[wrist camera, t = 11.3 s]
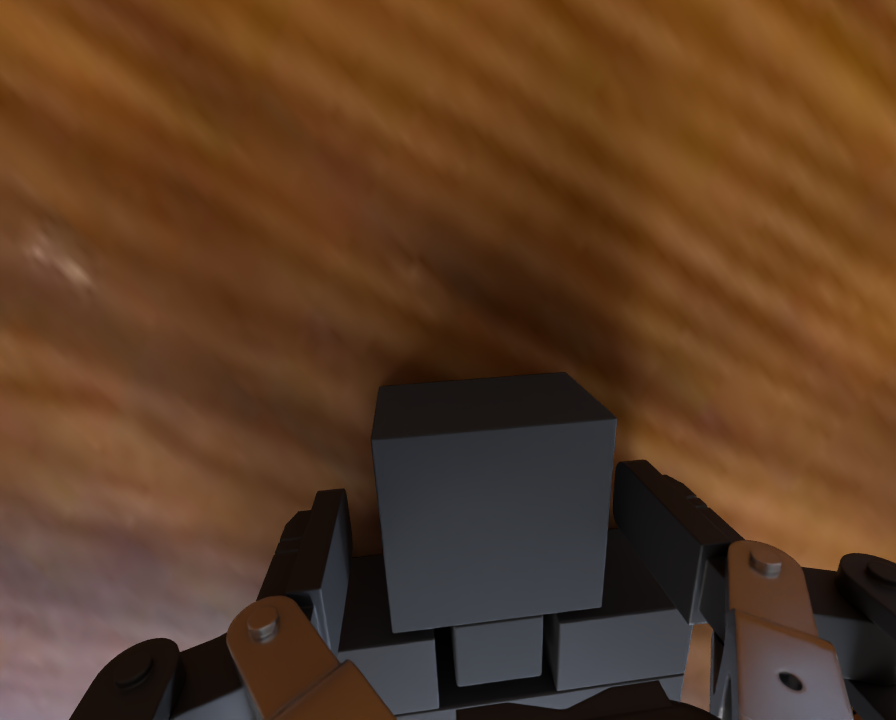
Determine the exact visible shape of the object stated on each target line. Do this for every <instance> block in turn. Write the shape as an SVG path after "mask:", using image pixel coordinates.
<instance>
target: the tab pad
mask: <svg viewBox="0 0 896 720" xmlns="http://www.w3.org/2000/svg"><path fill="white" fill-rule="evenodd" d="M616 424H617V418H616V416H614V415H613V414H612V413H611V412H610V411H609V410H608V409H607V408H605V407H604V406H603V405H602V404H601V403H600V402H599V401H597V400H596V399H595V398H594V397H593V396H592V395H591V394H590V393H588V392H587V391H586V390H585V389H584V388H583V387H582V386H581V385H579V384H578V383H577V382H576V381H575V380H574V379H573V378H572V377H570V376H569V375H568V374H567V373H566V372H560V373H547V374H534V375H521V376H508V377H495V378H482V379H469V380H456V381H443V382H431V383H418V384H405V385H392V386H380V387H379V389H378V396H377V403H376V409H375V416H374V422H373V429H372V435H371V447H372V456H373V465H374V474H375V483H376V492H377V501H378V510H379V519H380V528H381V537H382V546H383V555H384V564H385V573H386V582H387V591H388V600H389V609H390V618H391V627H392V632H393V633H399V632H407V631H415V630H423V629H431V628H439V627H447V626H450V634H451V643H452V651H453V660H454V669H455V677H456V684H457V686H459V687H460V686H468V685H475V684H482V683H489V682H497V681H504V680H511V679H519V678H526V677H533V676H540V675H541V673H542V641H543V614H551V613H559V612H567V611H575V610H583V609H591V608H599V607H601V605H602V593H603V581H604V569H605V557H606V545H607V533H608V521H609V509H610V497H611V485H612V473H613V461H614V449H615V437H616Z"/></svg>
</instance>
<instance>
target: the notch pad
mask: <svg viewBox="0 0 896 720" xmlns="http://www.w3.org/2000/svg"><path fill="white" fill-rule="evenodd" d="M692 628H693V625H688V624H687V622H686V621H685V619H684V618H683V617H682V615H681V614H680V612H679V611H678V610H677V608H676V607H675V606H674V604H673V603H672V601H671V600H670V599H669V597H668V596H667V595H666V593H665V592H664V590H663V589H662V588H661V586H660V585H659V583H658V582H657V581H656V579H655V578H654V577H653V575H652V574H651V572H650V571H649V570H648V568H647V567H646V565H645V564H644V563H643V561H642V560H641V559H640V557H639V556H638V554H637V553H636V552H635V550H634V549H633V547H632V546H631V545H630V543H629V542H628V541H627V539H626V538H625V536H624V535H623V534H622V532H621V531H620V530H619V529H611V530H608V533H607V545H606V557H605V569H604V581H603V593H602V605H601V607H599V608H591V609H583V610H575V611H567V612H559V613H551V614H543V641H542V673H541V675H540V676H533V677H526V678H519V679H511V680H504V681H497V682H489V683H482V684H475V685H468V686H460V687H459V686H457V684H456V677H455V669H454V660H453V651H452V643H451V634H450V626H447V627H439V628H431V629H423V630H415V631H407V632H399V633H393V632H392V627H391V618H390V609H389V600H388V591H387V582H386V573H385V564H384V555H376V556H367V557H358V558H352V561H351V567H350V574H349V580H348V587H347V594H346V600H345V607H344V614H343V620H342V627H341V633H340V640H339V647H338V653H337V659H338V660H339V662H341V663H342V662H344V661H345V660H346V659H349V660H351V661H352V662H353V663H354V664H355V665H356V666H357V667H358V668H359V670H360V671H361V672H362V674H363V675H364V676H365V678H366V679H367V680H368V682H369V683H370V684H371V685H372V687H373V688H374V689H375V691H376V692H377V693H378V695H379V696H380V697H381V699H382V700H383V701H384V703H385V704H386V705H387V707H388V708H389V709H390V710H391V712H392V713H393V714H394V716H395V717H396V718H397V720H456V710H458V709H465V708H471V707H478V706H485V705H492V704H499V703H506V702H509V703H516V704H523V705H531V706H538V707H546V708H553V709H567V708H569V707H571V706H573V705H575V704H577V703H579V702H581V701H583V700H585V699H587V698H589V697H591V696H593V695H595V694H597V693H600V692H602V691H604V690H606V689H608V688H610V687H615V686H622V685H629V684H636V683H642V682H649V681H656V680H659V682H660V684H661V686H662V688H663V689H664V691H665V693H666V695H667V696H668V698H669V700H675V701H679V702H680V698H681V692H682V686H683V680H684V672H685V669H686V663H687V658H688V652H689V646H690V640H691V634H692Z"/></svg>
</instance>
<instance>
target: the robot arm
mask: <svg viewBox="0 0 896 720" xmlns="http://www.w3.org/2000/svg"><path fill="white" fill-rule="evenodd" d="M613 515H614V519H615V522H616V524H617V526H618V528H619V530H620V531H621V532H622V534H623V535H624V536H625V538H626V539H627V541H628V542H629V543H630V545H631V546H632V547H633V549H634V550H635V552H636V553H637V554H638V556H639V557H640V559H641V560H642V561H643V563H644V564H645V565H646V567H647V568H648V570H649V571H650V572H651V574H652V575H653V577H654V578H655V579H656V581H657V582H658V583H659V585H660V586H661V588H662V589H663V590H664V592H665V593H666V595H667V596H668V597H669V599H670V600H671V601H672V603H673V604H674V606H675V607H676V608H677V610H678V611H679V612H680V614H681V615H682V617H683V618H684V619H685V621H686V622H687V624H688V625H695V624H702V623H709V624H710V626H711V627H712V628H713V633H712V639H711V673H710V712H707V711H705V710H703V709H700V708H698V707H695V706H692V705H689V704H686V703H682V702H679V701H675V700H669V698H668V696H667V695H666V693H665V691H664V689H663V688H662V686H661V684H660V682H659V680H656V681H649V682H642V683H636V684H629V685H622V686H615V687H610V688H608V689H606V690H604V691H602V692H600V693H597V694H595V695H593V696H591V697H589V698H587V699H585V700H583V701H581V702H579V703H577V704H575V705H573V706H571V707H569V708H567V709H553V708H546V707H538V706H531V705H523V704H516V703H509V702H506V703H499V704H492V705H485V706H478V707H471V708H465V709H458V710H456V720H854V717H853V713H852V709H851V707H852V708H853V709H854V710H855V711H856V713H857V714H858V715H859V716H860V717H861V718H862V719H863V720H896V564H895V563H893V562H891V561H888V560H886V559H883V558H880V557H876V556H873V555H868V554H861V553H852V554H847V555H844V556H843V557H842V558H841V560H840V563H839V567H838V570H837V571H829V570H822V569H814V568H806V567H801V566H800V565H799V564H798V563H797V562H796V561H795V560H794V559H793V558H792V557H791V556H789V555H788V554H786V553H785V552H783V551H781V550H779V549H777V548H775V547H773V546H771V545H768V544H765V543H762V542H757V541H751V540H745V539H744V538H743V537H741V536H740V535H739V534H738V533H737V532H736V531H735V530H734V529H733V528H732V527H730V526H729V525H728V524H727V523H726V522H725V521H724V520H723V519H722V518H721V517H719V516H718V515H717V514H716V513H715V512H714V511H713V510H712V509H711V508H708V507H707V505H706V504H705V503H704V502H703V501H702V500H701V499H700V498H697V497H696V495H695V494H694V493H693V492H692V491H691V490H690V489H689V488H687V487H686V486H685V485H684V484H683V483H681V482H679V481H677V480H675V479H673V478H671V477H669V476H668V475H662V474H661V473H659V472H658V471H657V470H656V469H655V468H654V467H653V466H652V465H651V464H650V463H649V462H648V461H646V460H633V461H623V462H619V463H618V464H617V466H616V471H615V483H614V494H613ZM352 550H353V542H352V530H351V523H350V516H349V508H348V501H347V494H346V490H345V489H344V488H343V489H333V490H323V491H318V492H317V494H316V497H315V500H314V503H313V506H312V509H311V510H308V511H298V512H297V513H296V515H295V516H294V517H293V518H292V519H291V520H290V521H289V522H288V523H287V524H286V525H285V528H284V531H283V533H282V536H281V538H280V542H279V543H278V546H277V548H276V551H275V555H274V556H273V559H272V561H271V564H270V566H269V569H268V572H267V574H266V577H265V579H264V582H263V584H262V587H261V589H260V592H259V595H258V597H257V600H256V602H254V603H252V604H251V605H249V606H248V607H246V608H245V609H244V610H242V611H241V612H240V613H239V614H238V615H237V616H236V618H235V619H234V620H233V621H232V623H231V625H230V627H229V629H228V631H227V633H225V634H223V635H221V636H220V637H217V638H215V639H213V640H210V641H208V642H205V643H203V644H200V645H198V646H195V647H192V648H190V649H187V650H185V651H182V652H180V651H179V649H178V646H177V644H176V643H175V642H174V641H172V640H170V639H166V638H155V639H150V640H146V641H143V642H141V643H138V644H136V645H134V646H132V647H130V648H128V649H127V650H125V651H123V652H122V653H120V654H119V655H117V656H116V657H115V658H114V659H112V660H111V661H110V662H109V663H108V664H107V665H106V666H105V667H104V668H103V669H102V670H101V671H100V672H99V673H98V675H97V676H96V678H95V679H94V680H93V682H92V684H91V685H90V687H89V688H88V690H87V692H86V693H85V695H84V696H83V698H82V700H81V701H80V703H79V704H78V706H77V708H76V709H75V711H74V712H73V714H72V716H71V717H70V719H69V720H397V718H396V717H395V716H394V714H393V713H392V712H391V710H390V709H389V708H388V707H387V705H386V704H385V703H384V701H383V700H382V699H381V697H380V696H379V695H378V693H377V692H376V691H375V689H374V688H373V687H372V685H371V684H370V683H369V682H368V680H367V679H366V678H365V676H364V675H363V674H362V672H361V671H360V670H359V668H358V667H357V666H356V665H355V664H354V663H353V662H352V661H351V660H349V659H346V660H345V661H344V662H342V663H341V662H339V660H338V659H337V653H338V647H339V640H340V633H341V627H342V620H343V614H344V607H345V600H346V594H347V587H348V580H349V574H350V567H351V561H352Z"/></svg>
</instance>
